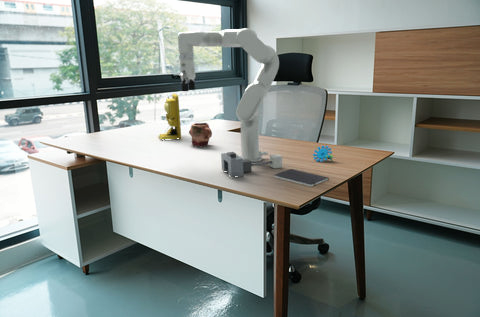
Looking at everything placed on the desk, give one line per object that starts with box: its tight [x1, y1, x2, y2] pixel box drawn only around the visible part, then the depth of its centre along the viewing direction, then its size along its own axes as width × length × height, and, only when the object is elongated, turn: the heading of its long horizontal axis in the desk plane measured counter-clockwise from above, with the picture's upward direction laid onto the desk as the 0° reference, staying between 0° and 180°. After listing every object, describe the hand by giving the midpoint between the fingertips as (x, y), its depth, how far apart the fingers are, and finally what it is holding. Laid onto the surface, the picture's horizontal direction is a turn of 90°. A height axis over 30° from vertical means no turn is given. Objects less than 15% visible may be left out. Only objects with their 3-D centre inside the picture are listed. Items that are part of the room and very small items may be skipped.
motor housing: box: [220, 151, 244, 178], centre depth 185 cm, size 6×14×10 cm, turn 21°
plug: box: [243, 153, 283, 173], centre depth 190 cm, size 22×4×6 cm, turn 111°
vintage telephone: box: [158, 93, 182, 140], centre depth 273 cm, size 31×14×30 cm, turn 17°
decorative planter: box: [188, 122, 213, 147], centre depth 246 cm, size 20×12×14 cm, turn 49°
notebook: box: [273, 168, 330, 187], centre depth 176 cm, size 13×2×21 cm
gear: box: [312, 145, 334, 163], centre depth 203 cm, size 11×6×10 cm
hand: (188, 90), depth 208 cm, fingers open, 9 cm apart
